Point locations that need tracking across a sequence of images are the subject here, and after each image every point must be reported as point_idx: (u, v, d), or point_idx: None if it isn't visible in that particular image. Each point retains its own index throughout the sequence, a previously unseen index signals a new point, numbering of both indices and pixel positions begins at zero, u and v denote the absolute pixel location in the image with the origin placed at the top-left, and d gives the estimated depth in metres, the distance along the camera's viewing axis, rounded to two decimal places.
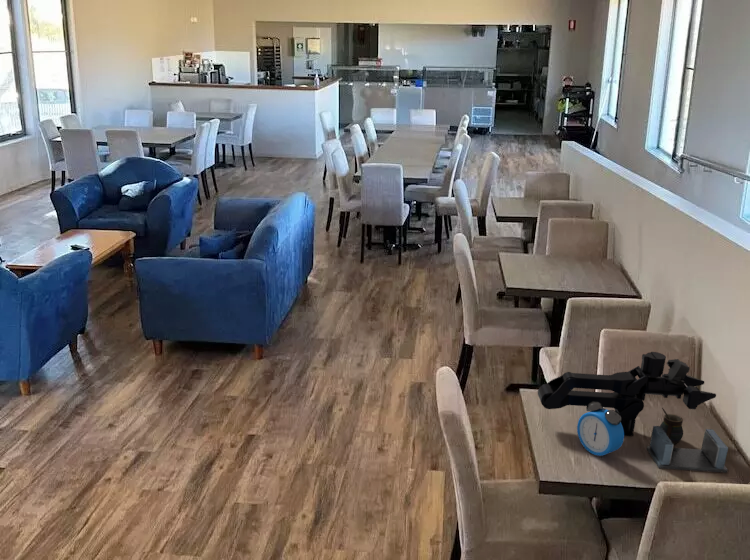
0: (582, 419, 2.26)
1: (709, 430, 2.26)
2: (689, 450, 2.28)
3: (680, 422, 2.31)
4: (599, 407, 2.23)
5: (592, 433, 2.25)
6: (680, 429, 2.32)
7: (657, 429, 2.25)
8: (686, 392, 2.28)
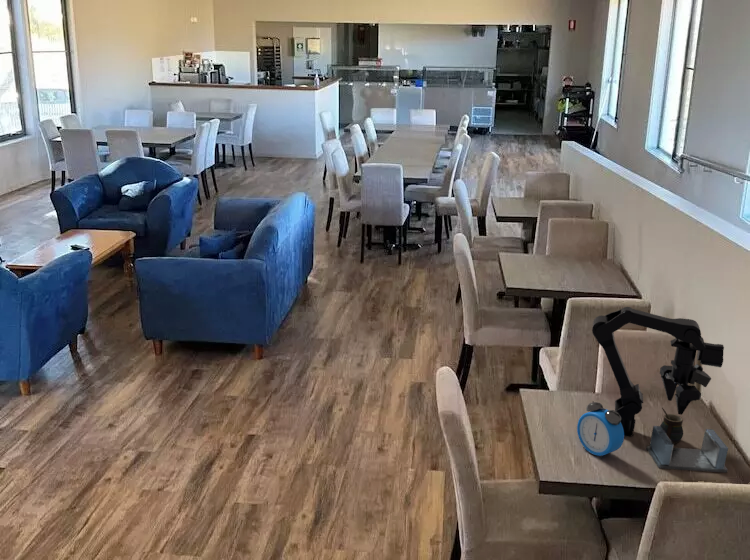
0: (582, 419, 2.26)
1: (709, 430, 2.26)
2: (689, 450, 2.28)
3: (680, 422, 2.31)
4: (599, 407, 2.23)
5: (592, 433, 2.25)
6: (680, 429, 2.32)
7: (657, 429, 2.25)
8: (693, 387, 2.23)
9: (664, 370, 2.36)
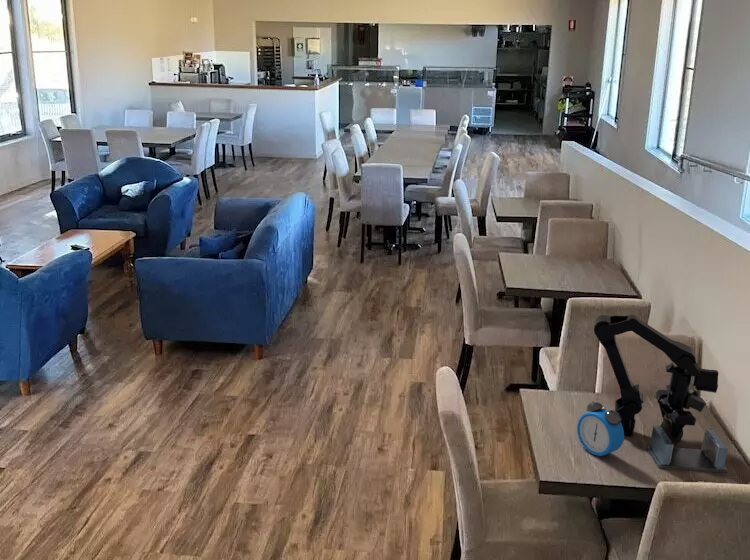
0: (582, 419, 2.26)
1: (709, 430, 2.26)
2: (689, 450, 2.28)
3: None
4: (599, 407, 2.23)
5: (592, 433, 2.25)
6: None
7: (657, 429, 2.25)
8: (688, 413, 2.25)
9: (660, 394, 2.38)
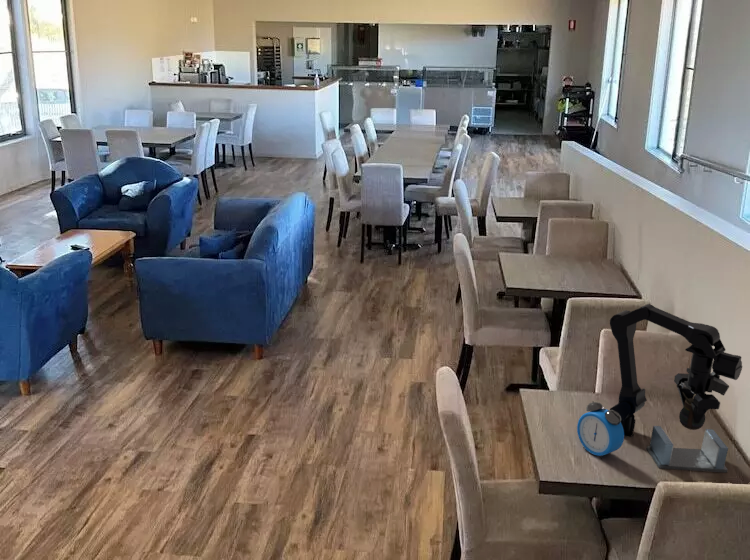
0: (582, 419, 2.26)
1: (709, 430, 2.26)
2: (689, 450, 2.28)
3: None
4: (599, 407, 2.23)
5: (592, 433, 2.25)
6: None
7: (657, 429, 2.25)
8: (712, 396, 2.13)
9: (679, 378, 2.26)
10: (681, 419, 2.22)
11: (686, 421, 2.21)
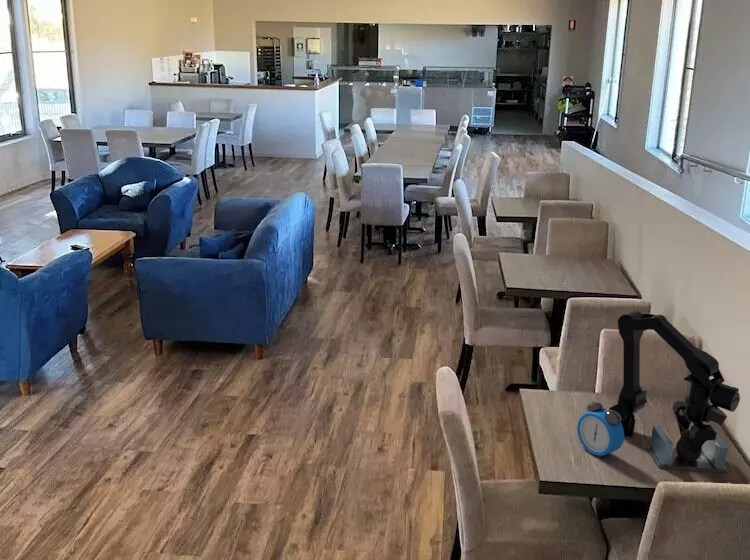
0: (582, 419, 2.26)
1: None
2: None
3: None
4: (599, 407, 2.23)
5: (592, 433, 2.25)
6: None
7: (657, 429, 2.25)
8: (709, 427, 2.13)
9: (677, 406, 2.26)
10: (678, 450, 2.23)
11: (682, 453, 2.21)
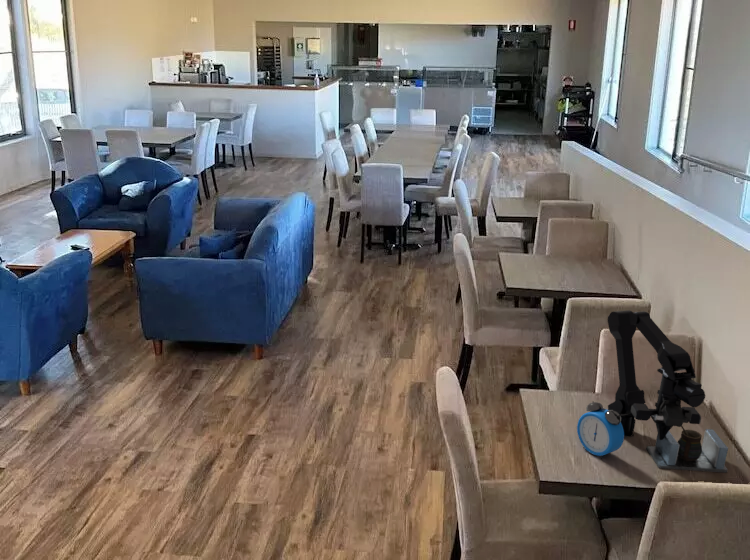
0: (582, 419, 2.26)
1: (709, 430, 2.26)
2: None
3: (699, 438, 2.20)
4: (599, 407, 2.23)
5: (592, 433, 2.25)
6: (699, 446, 2.20)
7: None
8: (644, 409, 2.18)
9: None
10: (678, 450, 2.23)
11: (682, 453, 2.21)
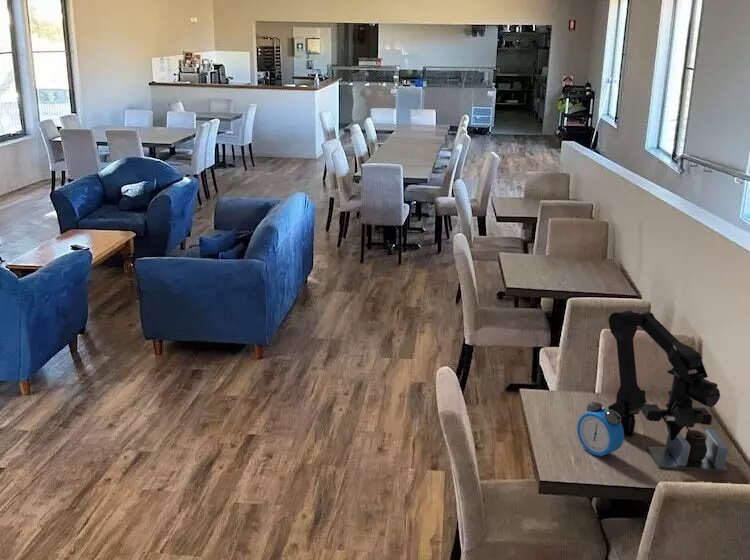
0: (582, 419, 2.26)
1: (709, 430, 2.26)
2: None
3: (704, 439, 2.20)
4: (599, 407, 2.23)
5: (592, 433, 2.25)
6: (704, 446, 2.20)
7: None
8: (655, 410, 2.18)
9: None
10: None
11: None
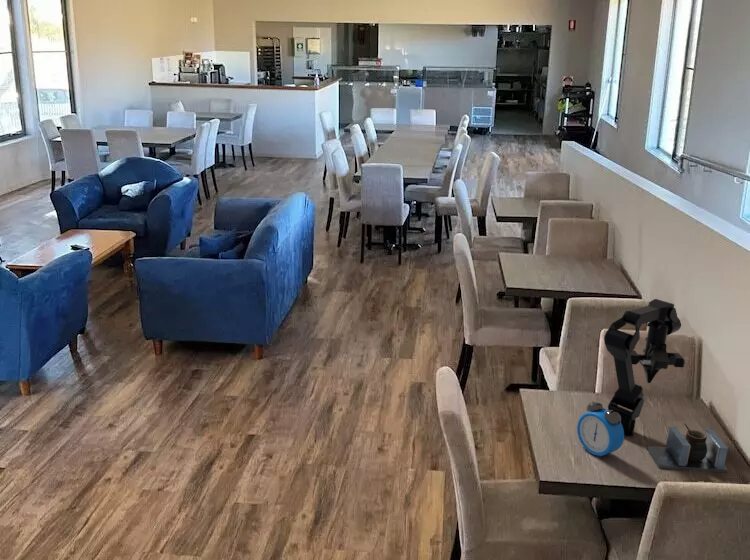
0: (582, 419, 2.26)
1: (709, 430, 2.26)
2: None
3: (704, 439, 2.20)
4: (599, 407, 2.23)
5: (592, 433, 2.25)
6: (704, 446, 2.20)
7: (673, 430, 2.25)
8: (633, 354, 2.41)
9: None
10: None
11: None
